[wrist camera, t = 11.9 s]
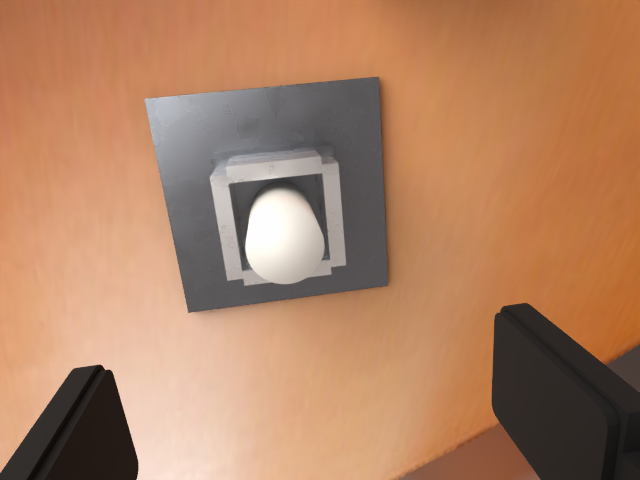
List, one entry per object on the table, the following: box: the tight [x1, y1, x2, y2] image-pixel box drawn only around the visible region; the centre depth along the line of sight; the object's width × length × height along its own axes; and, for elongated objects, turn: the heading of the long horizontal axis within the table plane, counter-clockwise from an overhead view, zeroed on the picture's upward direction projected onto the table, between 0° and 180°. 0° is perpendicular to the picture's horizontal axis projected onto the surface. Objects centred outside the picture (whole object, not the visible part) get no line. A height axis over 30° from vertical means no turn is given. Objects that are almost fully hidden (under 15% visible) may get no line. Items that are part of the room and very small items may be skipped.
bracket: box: [145, 77, 388, 313], centre depth 31 cm, size 16×16×7 cm
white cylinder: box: [245, 182, 325, 284], centre depth 26 cm, size 4×4×8 cm
